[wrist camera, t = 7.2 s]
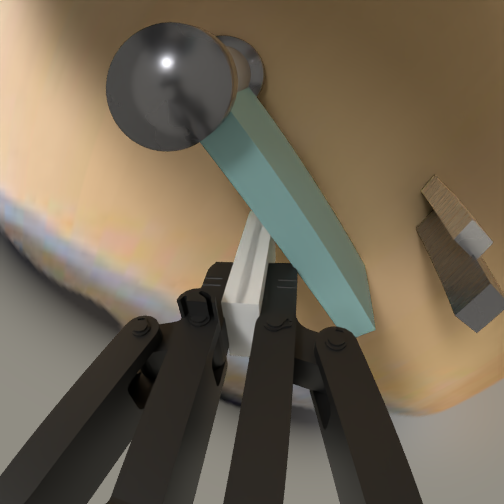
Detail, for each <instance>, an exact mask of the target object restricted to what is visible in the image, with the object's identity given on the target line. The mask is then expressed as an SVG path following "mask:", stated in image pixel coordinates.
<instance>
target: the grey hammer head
mask: <svg viewBox="0 0 504 504" xmlns="http://www.w3.org/2000/svg"><path fill="white" fill-rule="evenodd" d="M226 46H229V47H232V48H234V49H236V50H238V51H239V52H240V53H242V54H243V56H244V57H245V58H246V60H247V61H248V63H249V66H250V71H251V79H250V84H249V88H250V89H251V90H252V92H253V93H254V94H255V96H256V97H257V96H258V94H259V93H260V91H261V89H262V86H263V82H264V75H265V73H264V65H263V62H262V59H261V57H260V56H259V54H258V53H257V51H256V50H255V49H254V48H253V47H252V46H251V45H250V44H248V43H247V42H245V41H243V40H241V39H238V38H235V37H231V36H214V35H213V34H211V33H210V32H208V31H206V30H204V29H201V28H198V27H195V26H191V25H186V24H182V23H172V22H168V23H160V24H155V25H152V26H149V27H146V28H144V29H142V30H140V31H138V32H137V33H135V34H134V35H132V36H131V37H130V38H129V39H128V40H127V41H126V42H125V43H124V44H123V45H122V46H121V47H120V48H119V50H118V51H117V53H116V54H115V56H114V58H113V60H112V62H111V65H110V68H109V71H108V75H107V82H106V96H107V102H108V106H109V109H110V112H111V114H112V117H113V119H114V120H115V122H116V124H117V125H118V127H119V128H120V129H121V130H122V131H123V133H124V134H125V135H126V136H128V137H129V138H130V139H131V140H133V141H134V142H136V143H137V144H139V145H141V146H143V147H146V148H149V149H152V150H157V151H177V150H182V149H185V148H188V147H191V146H193V145H195V144H197V143H199V142H200V141H202V140H203V139H205V138H206V137H207V136H208V135H210V134H211V133H212V132H214V131H215V130H216V129H217V128H218V127H219V126H220V125H221V124H222V123H223V122H224V121H225V119H226V118H227V116H228V115H229V113H230V111H231V109H232V107H233V105H234V102H235V99H236V95H237V89H238V76H237V70H236V65H235V63H234V60H233V58H232V56H231V54H230V52H229V50H228V49H227V48H226Z"/></svg>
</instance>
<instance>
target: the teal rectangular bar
mask: <svg viewBox="0 0 504 504" xmlns="http://www.w3.org/2000/svg"><path fill="white" fill-rule="evenodd" d="M226 48H227V49H228V50H229V52H230V54H231V56H232V58H233V60H234V63H235V65H236V70H237V76H238V89H237V95H236V99H235V102H234V105H233V107H232V109H231V111H230V113H229V115H228V116H227V118H226V119H225V121H224V122H223V123H222V124H221V125H220V126H219V127H218V128H217V129H216V130H215V131H214V132H212V133H211V134H210V135H208V136H207V137H206V138H205V139H203V140H202V141H200V143H201V144H202V145H203V147H204V148H205V149H206V151H207V152H208V153H209V154H210V156H211V157H212V158H213V160H214V161H215V162H216V164H217V165H218V166H219V168H220V169H221V170H222V171H223V173H224V174H225V175H226V177H227V178H228V179H229V181H230V182H231V183H232V185H233V186H234V187H235V189H236V190H237V191H238V193H239V194H240V195H241V197H242V198H243V199H244V201H245V202H246V203H247V205H248V206H249V207H250V209H251V210H252V211H253V213H254V214H255V215H256V217H257V218H258V219H259V221H260V222H261V223H262V225H263V226H264V227H265V229H266V230H267V231H268V233H269V234H270V235H271V237H272V238H273V239H274V241H275V242H276V244H277V245H278V246H279V248H280V249H281V250H282V252H283V253H284V254H285V256H286V257H287V258H288V260H289V261H290V263H291V264H292V265H293V267H294V268H296V270H297V272H298V274H299V275H300V276H301V278H302V279H303V280H304V282H305V283H306V285H307V286H308V287H309V289H310V290H311V292H312V293H313V294H314V296H315V297H316V298H317V300H318V301H319V303H320V304H321V305H322V307H323V308H324V310H325V311H326V312H327V314H328V315H329V317H330V318H331V319H332V321H333V322H334V324H335V325H336V326H337V327H341V328H345V329H347V330H349V331H350V332H352V333H353V335H354V336H355V337H358V336H361V335H363V334H366V333H369V332H371V331H374V330H376V329H375V322H374V316H373V309H372V303H371V297H370V291H369V286H368V280H367V275H366V270H365V265H364V264H363V262H362V260H361V258H360V256H359V255H358V253H357V251H356V249H355V248H354V246H353V244H352V242H351V241H350V239H349V237H348V236H347V234H346V232H345V230H344V229H343V227H342V225H341V224H340V222H339V220H338V219H337V217H336V215H335V214H334V212H333V210H332V209H331V207H330V205H329V204H328V202H327V201H326V199H325V197H324V196H323V194H322V193H321V191H320V189H319V188H318V186H317V185H316V183H315V182H314V180H313V178H312V177H311V175H310V174H309V172H308V171H307V169H306V168H305V166H304V165H303V163H302V162H301V160H300V158H299V157H298V155H297V154H296V152H295V151H294V150H293V148H292V147H291V145H290V144H289V142H288V141H287V139H286V138H285V136H284V135H283V133H282V132H281V131H280V129H279V128H278V126H277V125H276V123H275V122H274V121H273V119H272V118H271V116H270V115H269V114H268V112H267V111H266V109H265V108H264V107H263V105H262V104H261V103H260V101H259V100H258V98H257V97H256V96H255V94H254V93H253V92H252V90H251V89H250V88H249V84H250V79H251V71H250V66H249V63H248V61H247V60H246V58H245V57H244V56H243V54H242V53H240V52H239V51H238V50H236V49H234V48H232V47H229V46H226Z"/></svg>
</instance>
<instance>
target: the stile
mask: <svg viewBox="0 0 504 504" xmlns="http://www.w3.org/2000/svg"><path fill="white" fill-rule="evenodd" d="M421 192H422V193H423V195H424V196H425V197H426V199H427V200H428V202H429V203H430V204H431V206H432V207H433V210H432V211H431V213H430V214H429V215H428V216H427V217H426V218H425V219H424V220H423V221H422V222H421V223H420V225H419V226H418V227H417V228H416V230H417V232H418V234H419V236H420V238H421V240H422V242H423V244H424V246H425V248H426V250H427V252H428V254H429V256H430V258H431V260H432V263H433V265H434V267H435V269H436V271H437V274H438V276H439V278H440V280H441V283H442V285H443V287H444V290H445V292H446V295H447V297H448V299H449V302H450V304H451V307H452V309H453V312H454V314H455V316H456V317H457V318H459V319H460V320H461V321H462V322H464V323H465V324H466V325H467V326H469V327H470V328H471V329H472V330H474V331H475V332H476V333H477V332H479V331H480V330H481V329H482V328H483V327H485V326H486V325H487V324H488V323H489V322H491V321H492V320H493V319H494V318H495V317H496V316H497V315H499V314H500V313H501V312H502V311H503V310H504V293H503V292H502V290H501V288H500V286H499V285H498V283H497V281H496V279H495V278H494V276H493V274H492V273H491V271H490V269H489V268H488V266H487V265H486V263H485V261H484V260H483V258H482V257H481V255H482V254H483V253H484V252H485V251H486V250H487V249H488V248H489V247H490V246H491V244H492V243H493V241H492V240H491V239H490V237H489V236H488V235H487V233H486V232H485V231H484V230H483V228H482V227H481V226H480V224H479V223H478V222H477V221H476V219H475V218H474V217H473V216H472V214H471V213H470V212H469V211H468V210H467V208H466V207H465V206H464V205H463V204H462V202H461V201H460V200H459V199H458V198H457V197H456V196H455V194H454V193H453V192H452V191H451V190H450V189H449V188H448V187H447V186H446V185H445V184H444V183H443V182H442V181H441V180H439V179H438V178H437V177H436V176H435V175H434V176H433V177H432V178H431V179H430V181H429V182H428V183H427V184H426V185H425V186H424V188H423V189H422V190H421Z"/></svg>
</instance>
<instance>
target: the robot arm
mask: <svg viewBox="0 0 504 504" xmlns="http://www.w3.org/2000/svg"><path fill="white" fill-rule="evenodd" d="M275 260H276V247H275V241H274V239H273V238H272V237H271V235H270V234H269V233H268V231H267V230H266V229H265V227H264V226H263V225H262V223H261V222H260V221H259V219H258V218H257V217H256V215H255V214H254V213H253V211H250V212H249V215H248V218H247V222H246V225H245V228H244V231H243V234H242V237H241V240H240V243H239V247H238V250H237V253H236V256H235V259H234V262H216V263H215V264H214V265H212V266H211V267H210V268H209V269H208V272H207V274H206V277H205V279H204V282H203V285H202V287H201V288H199V289H191V290H188V291H186V292H184V293H183V294H181V295H180V296H179V298H178V299H177V303H178V306H179V310H180V313H181V317H182V318H181V320H179V321H176V322H172V323H166V324H159V323H158V322H157V320H156V319H155V318H153V317H151V316H139V317H136V318H134V319H132V320H131V321H130V322H128V323H127V324H126V325H125V326H124V328H123V329H122V330H121V331H120V332H119V333H118V334H117V335H116V336H115V338H114V339H113V340H112V341H111V342H110V343H109V344H108V346H107V347H106V348H105V349H104V350H103V351H102V352H101V354H100V355H99V356H98V357H97V358H96V359H95V360H94V362H93V363H92V364H91V365H90V366H89V367H88V368H87V370H86V371H85V372H84V373H83V374H82V376H81V377H80V378H79V379H78V380H77V381H76V382H75V384H74V385H73V386H72V387H71V388H70V390H69V391H68V392H67V393H66V394H65V396H64V397H63V398H62V399H61V400H60V402H59V403H58V404H57V405H56V406H55V408H54V409H53V410H52V411H51V412H50V414H49V415H48V416H47V417H46V419H45V420H44V421H43V422H42V423H41V425H40V426H39V427H38V428H37V430H36V431H35V432H34V433H33V435H32V436H31V437H30V438H29V440H28V441H27V442H26V444H25V445H24V446H23V447H22V449H21V450H20V451H19V452H18V454H17V455H16V456H15V458H14V459H13V460H12V461H11V463H10V464H9V465H8V467H7V468H6V469H5V471H4V472H3V473H2V474H1V476H0V504H87V503H88V501H89V500H90V499H91V497H92V496H93V494H94V493H95V492H96V490H97V489H98V487H99V486H100V484H101V483H102V482H103V480H104V478H105V477H106V476H107V474H108V473H109V472H110V470H111V469H112V467H113V466H114V464H115V463H116V462H117V460H118V459H119V457H120V456H121V455H122V453H123V452H124V450H125V449H126V447H127V446H128V444H129V443H130V442H131V444H130V446H129V449H128V452H127V454H126V457H125V460H124V462H123V465H122V468H121V471H120V473H119V476H118V479H117V482H116V484H115V487H114V490H113V493H112V496H111V498H110V500H109V501H108V502H107V503H106V504H193V501H194V497H195V494H196V490H197V485H198V482H199V478H200V474H201V470H202V466H203V462H204V458H205V454H206V450H207V446H208V442H209V438H210V434H211V431H212V427H213V422H214V418H215V415H216V410H217V407H218V403H219V399H220V395H221V391H222V387H223V383H224V379H225V375H226V371H227V358H226V356H227V352H228V348H229V352H230V355H233V356H244V357H250V358H249V364H248V369H247V375H246V381H245V387H244V393H243V398H242V404H241V410H240V415H239V421H238V427H237V432H236V438H235V444H234V449H233V454H232V460H231V466H230V471H229V476H228V481H227V487H226V492H225V497H224V503H223V504H283V500H284V490H285V480H286V469H287V458H288V446H289V433H290V421H291V420H290V419H291V406H292V391H293V384H295V385H298V386H301V387H304V388H307V389H310V394H311V397H312V401H313V404H314V408H315V412H316V415H317V418H318V422H319V426H320V430H321V434H322V437H323V441H324V444H325V448H326V452H327V456H328V459H329V463H330V467H331V471H332V474H333V478H334V482H335V486H336V490H337V493H338V497H339V501H340V504H423V503H422V500H421V497H420V494H419V491H418V488H417V486H416V483H415V480H414V477H413V475H412V472H411V469H410V466H409V464H408V461H407V459H406V456H405V453H404V451H403V448H402V446H401V443H400V440H399V438H398V435H397V433H396V430H395V428H394V425H393V423H392V420H391V418H390V416H389V413H388V411H387V408H386V406H385V403H384V401H383V399H382V396H381V394H380V392H379V389H378V387H377V385H376V382H375V380H374V378H373V375H372V373H371V371H370V368H369V366H368V364H367V362H366V359H365V357H364V355H363V353H362V350H361V348H360V346H359V344H358V342H357V339H356V337H355V336H354V335H353V333H352V332H350V331H349V330H347V329H345V328H341V327H328V328H325V329H323V330H322V331H320V332H319V333H318V332H315V331H312V330H309V329H307V328H305V327H303V326H302V325H301V324H300V323H299V322H298V320H297V318H296V301H297V270H296V268H294V267H293V265H292V264H291V263H275ZM131 440H132V441H131Z"/></svg>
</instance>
